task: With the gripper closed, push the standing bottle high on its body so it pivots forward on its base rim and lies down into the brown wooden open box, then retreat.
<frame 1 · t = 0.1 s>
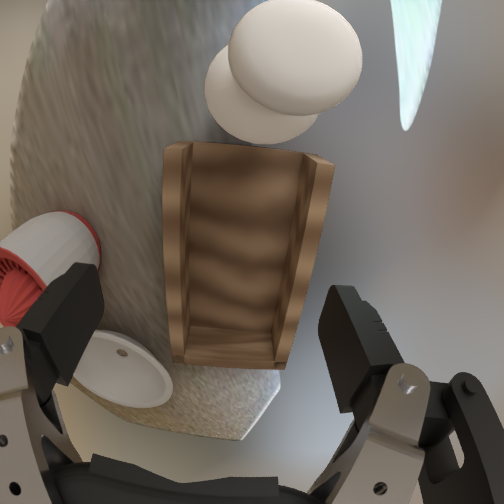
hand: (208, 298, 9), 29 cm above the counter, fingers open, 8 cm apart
soup bowl: (122, 351, 52), on the counter
bottle: (254, 100, 32), on the counter
citrus juicer: (76, 246, 40), on the counter
rest: (237, 255, 42), on the counter
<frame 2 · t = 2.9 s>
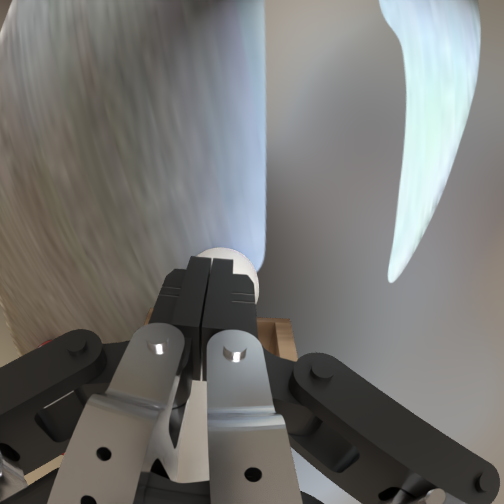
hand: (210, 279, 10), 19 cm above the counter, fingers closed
bottle: (222, 274, 32), on the counter
rest: (216, 385, 42), on the counter
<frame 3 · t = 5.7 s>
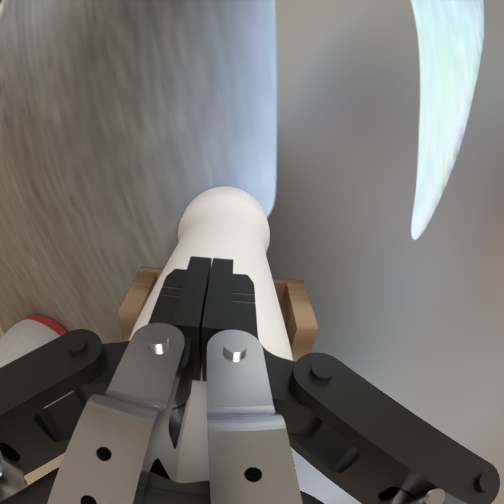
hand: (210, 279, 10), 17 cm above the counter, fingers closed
bottle: (225, 221, 28), on the counter, touching gripper
citrus juicer: (57, 343, 36), on the counter
rest: (216, 367, 38), on the counter
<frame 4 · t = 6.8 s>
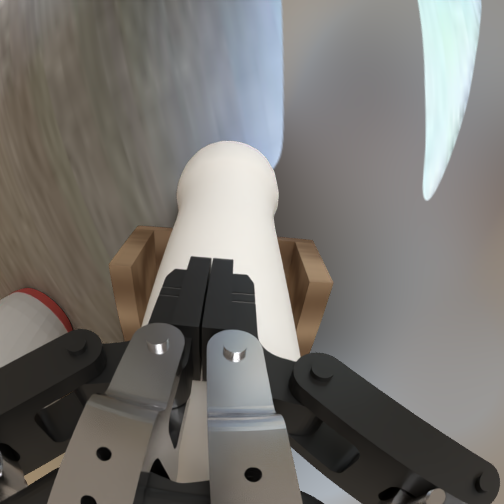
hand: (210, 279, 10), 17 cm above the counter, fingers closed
bottle: (229, 176, 24), point 1 cm above the counter
citrus juicer: (48, 320, 34), on the counter
rest: (217, 344, 36), on the counter
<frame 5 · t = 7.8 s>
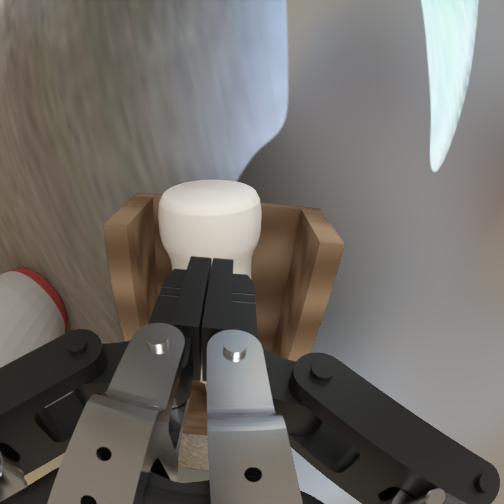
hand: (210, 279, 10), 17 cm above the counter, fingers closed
bottle: (209, 187, 21), point 5 cm above the counter, touching rest
citrus juicer: (41, 303, 32), on the counter
rest: (218, 326, 34), on the counter
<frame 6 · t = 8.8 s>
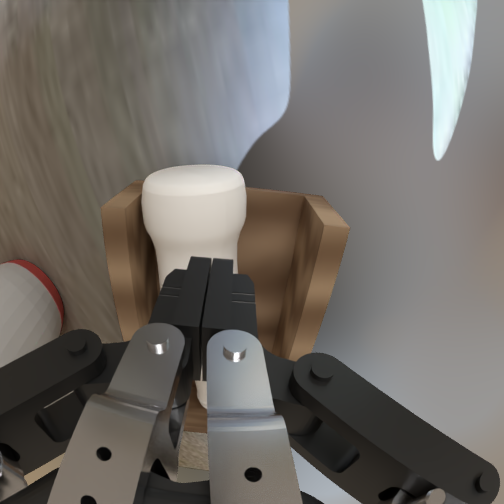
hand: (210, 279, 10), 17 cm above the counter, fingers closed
bottle: (192, 170, 20), point 5 cm above the counter, touching rest
citrus juicer: (38, 297, 31), on the counter
rest: (218, 318, 33), on the counter
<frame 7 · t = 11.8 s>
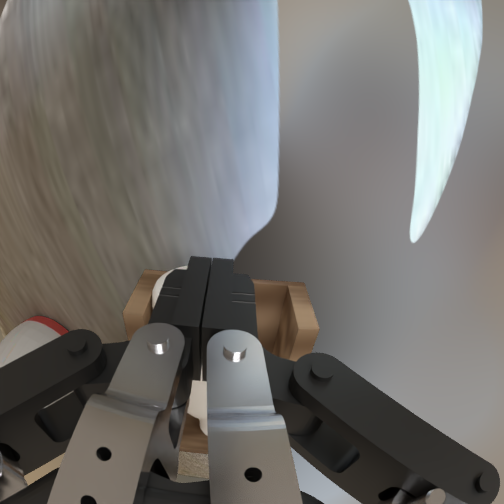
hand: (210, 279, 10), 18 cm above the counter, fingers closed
bottle: (192, 281, 25), point 5 cm above the counter, touching rest
citrus juicer: (59, 344, 37), on the counter
rest: (218, 368, 38), on the counter
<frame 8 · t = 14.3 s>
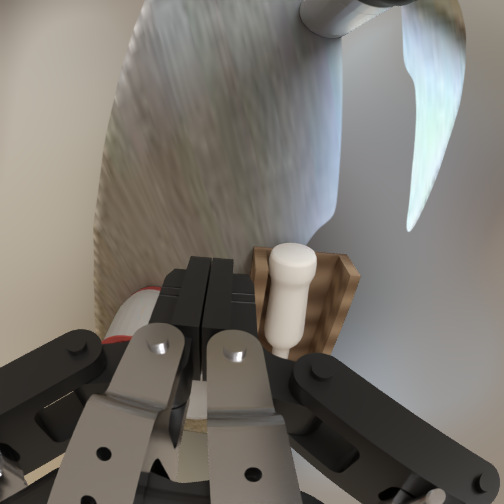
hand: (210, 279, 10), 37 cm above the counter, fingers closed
soup bowl: (188, 378, 69), on the counter
bottle: (294, 250, 46), point 5 cm above the counter, touching rest
citrus juicer: (161, 309, 58), on the counter
rest: (287, 316, 59), on the counter
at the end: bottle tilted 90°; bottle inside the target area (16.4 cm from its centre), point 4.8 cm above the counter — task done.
